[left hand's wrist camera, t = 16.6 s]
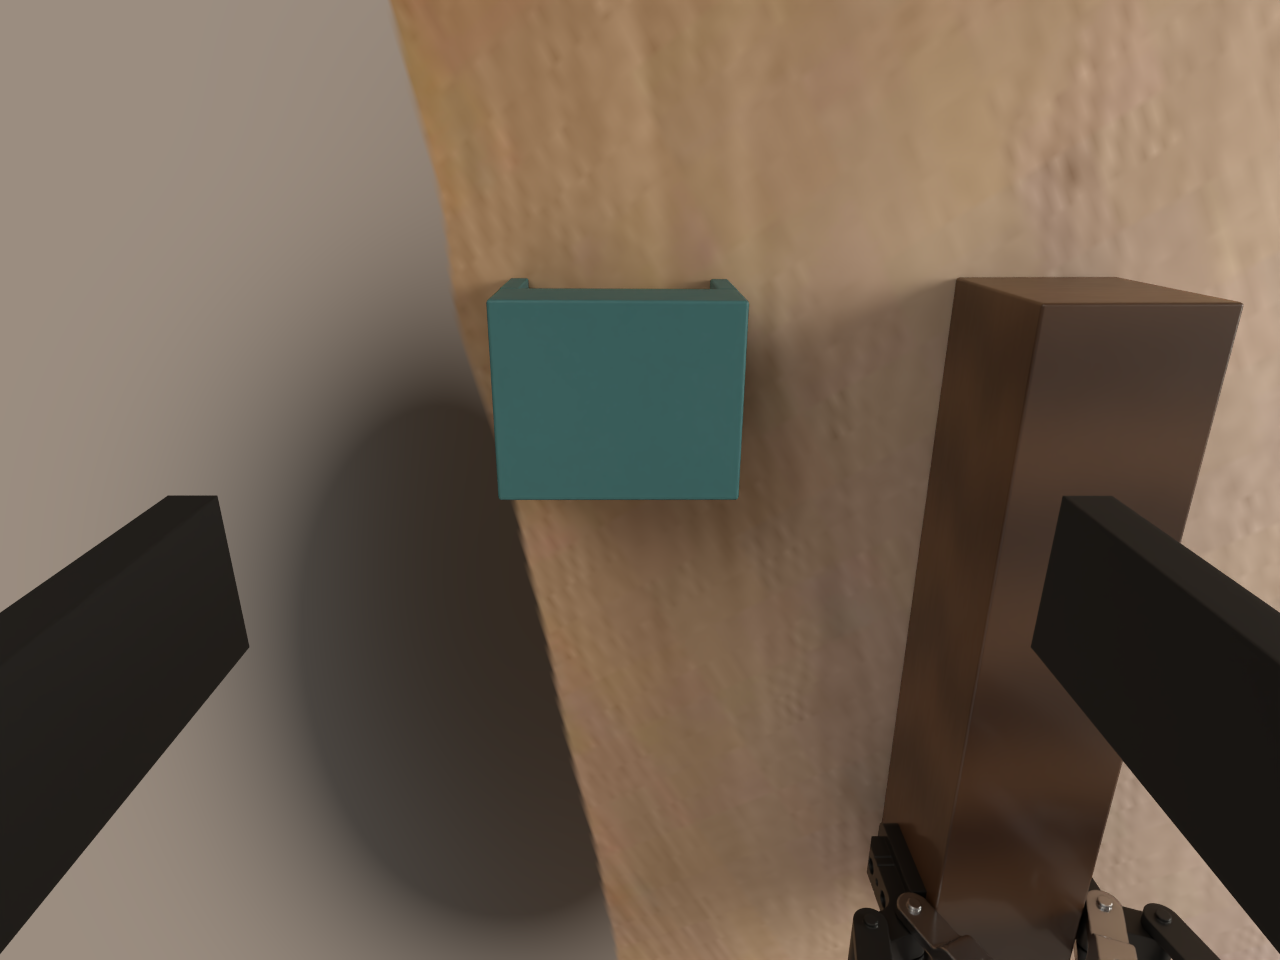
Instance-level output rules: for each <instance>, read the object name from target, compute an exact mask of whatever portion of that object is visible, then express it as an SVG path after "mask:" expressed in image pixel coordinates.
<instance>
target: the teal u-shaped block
mask: <svg viewBox="0 0 1280 960" xmlns="http://www.w3.org/2000/svg"><path fill="white" fill-rule="evenodd" d="M486 304H487V320H488V336H489V352H490V368H491V384H492V400H493V416H494V432H495V448H496V464H497V480H498V497H499V499H501V500H736V499H738V497H739V478H740V460H741V441H742V423H743V404H744V386H745V367H746V349H747V331H748V312H749V302H748V301H747V300H746V299H745V298H744V297H743V296H742V295H741V294H740V293H739V291H738V290H737V289H736V288H735V287H734V286H733V285H732V284H731V283H730V282H729V281H728V280H727V279H712V280H711V281H710V289H532V288H529V287H528V279H527V278H511V279H510V280H509V281H508V282H506V283H505V284H504V285H503V286H502V287H501V288H500V289H499V290H498V291H497V292H496V293H495V294H494V295H493V296H492V297H491V298H489V299H488V300H487V303H486Z"/></svg>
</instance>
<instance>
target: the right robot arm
mask: <svg viewBox="0 0 1280 960" xmlns="http://www.w3.org/2000/svg"><path fill="white" fill-rule="evenodd" d="M867 874H868V877H869V879H870V882H871V885H872V888H873V891H874V894H875V897H876V900H877V903H878V905H879V908H880V911H879V912H878V911H877V910H874V909H871V908H862V909H859V910H857V911H856V912H855V914H854V917H853V925H852V932H851V940H850V947H849V955H848V960H993V958H992V957H991V956H990V955H989V954H988V953H987V952H986V951H985V950H984V949H983V948H982V947H981V946H980V945H979V944H978V942H977V941H976V940H975V939H974V938H972V937H971V936H969V935H964V936H960V935H959V934H957V933H956V932H955V930H954V929H953V928H952V927H951V926H950V925H949V924H948V923H947V922H946V921H945V920H944V919H943V917H942V916H941V915H940V914H939V913H938V912H937V911H936V910H935V909H934V908H933V907H932V905H931V904H930V903H929V902H928V901H927V900H926V894H927V891H926V889H925V886H924V884H923V881H922V879H921V877H920V874H919V872H918V870H917V867H916V865H915V862H914V860H913V858H912V855H911V853H910V850H909V848H908V846H907V843H906V841H905V839H904V836H903V834H902V831H901V829H900V827H899V825H898V823H880V826H879V832H878V836H872V838H871V846H870V853H869V860H868V868H867ZM1073 947H1074V956H1075V960H1171V958H1172V959H1173V960H1220V959H1219V958H1218V957H1217V956H1216V955H1215V954H1214V953H1213V952H1212V950H1211V949H1210V948H1209V947H1208V946H1207V945H1206V944H1205V943H1204V942H1203V941H1202V940H1201V939H1200V938H1199V937H1198V936H1197V935H1196V934H1195V933H1194V932H1193V931H1192V930H1191V929H1190V928H1189V927H1188V926H1187V925H1186V924H1185V923H1184V921H1183V920H1182V919H1181V918H1180V917H1179V916H1178V915H1177V914H1176V913H1175V912H1173V911H1172V910H1171V909H1169V908H1167V907H1165V906H1163V905H1160V904H1155V903H1150V904H1147V905H1145V907H1144V909H1143V912H1142V911H1138V910H1134V909H1130V908H1126V907H1123V906H1122V905H1121V904H1120V902H1119V901H1118V900H1117V899H1116V898H1115V897H1114V896H1112V895H1110V894H1109V893H1107V892H1104V891H1101V890H1100V889H1099V887H1098V886H1097V884H1096V883H1095V881H1094V880H1093V878H1092V879H1091V882H1090V886H1089V890H1088V894H1087V897H1086V901H1085V905H1084V909H1083V912H1082V916H1081V920H1080V924H1079V928H1078V931H1077V935H1076V939H1075V943H1074V946H1073Z"/></svg>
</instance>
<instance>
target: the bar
mask: <svg viewBox="0 0 1280 960" xmlns="http://www.w3.org/2000/svg"><path fill="white" fill-rule="evenodd" d="M1242 309H1243V304H1242V303H1241V302H1236V301H1232V300H1227V299H1222V298H1217V297H1212V296H1207V295H1202V294H1197V293H1192V292H1187V291H1182V290H1177V289H1172V288H1167V287H1162V286H1157V285H1152V284H1147V283H1142V282H1137V281H1132V280H1127V279H1122V278H1117V277H995V278H957V280H956V287H955V295H954V302H953V309H952V316H951V324H950V331H949V338H948V346H947V353H946V360H945V367H944V375H943V382H942V389H941V397H940V404H939V411H938V418H937V426H936V433H935V440H934V448H933V455H932V462H931V469H930V477H929V484H928V491H927V499H926V506H925V513H924V521H923V528H922V535H921V542H920V550H919V557H918V564H917V572H916V579H915V586H914V593H913V601H912V608H911V615H910V623H909V630H908V637H907V644H906V652H905V659H904V666H903V674H902V681H901V688H900V695H899V703H898V710H897V717H896V725H895V732H894V739H893V746H892V754H891V761H890V768H889V776H888V783H887V790H886V797H885V805H884V812H883V819H882V823H898V825H899V827H900V829H901V831H902V834H903V836H904V839H905V841H906V843H907V846H908V848H909V850H910V853H911V855H912V858H913V860H914V862H915V865H916V867H917V870H918V872H919V874H920V877H921V879H922V881H923V884H924V886H925V889H926V891H927V894H926V900H927V901H928V902H929V903H930V904H931V905H932V907H933V908H934V909H935V910H936V911H937V912H938V913H939V914H940V915H941V916H942V917H943V919H944V920H945V921H946V922H947V923H948V924H949V925H950V926H951V927H952V928H953V929H954V930H955V932H956V933H957V934H959V935H960V936H964V935H969V936H971V937H972V938H974V939H975V940H976V941H977V942H978V944H979V945H980V946H981V947H982V948H983V949H984V950H985V951H986V952H987V953H988V954H989V955H990V956H991V957H992V958H993V960H1070V958H1071V954H1072V950H1073V946H1074V943H1075V939H1076V935H1077V931H1078V928H1079V924H1080V920H1081V916H1082V912H1083V909H1084V905H1085V901H1086V897H1087V894H1088V890H1089V886H1090V882H1091V879H1092V875H1093V871H1094V867H1095V863H1096V860H1097V856H1098V852H1099V848H1100V845H1101V841H1102V837H1103V833H1104V829H1105V826H1106V822H1107V818H1108V814H1109V811H1110V807H1111V803H1112V799H1113V796H1114V792H1115V788H1116V784H1117V780H1118V777H1119V773H1120V769H1121V765H1122V762H1123V760H1122V759H1121V758H1120V757H1119V755H1118V754H1117V753H1116V752H1115V750H1114V749H1113V748H1112V747H1111V745H1110V744H1109V743H1108V742H1107V741H1106V739H1105V738H1104V737H1103V736H1102V734H1101V733H1100V732H1099V731H1098V729H1097V728H1096V727H1095V726H1094V725H1093V723H1092V722H1091V721H1090V720H1089V718H1088V717H1087V716H1086V715H1085V713H1084V712H1083V711H1082V710H1081V709H1080V707H1079V706H1078V705H1077V704H1076V702H1075V701H1074V700H1073V699H1072V697H1071V696H1070V695H1069V694H1068V693H1067V691H1066V690H1065V689H1064V688H1063V686H1062V685H1061V684H1060V683H1059V681H1058V680H1057V679H1056V678H1055V676H1054V675H1053V674H1052V673H1051V672H1050V670H1049V669H1048V668H1047V667H1046V665H1045V664H1044V663H1043V662H1042V660H1041V659H1040V658H1039V657H1038V656H1037V654H1036V653H1035V652H1034V651H1033V649H1032V648H1031V643H1032V638H1033V633H1034V629H1035V624H1036V619H1037V615H1038V610H1039V605H1040V600H1041V596H1042V591H1043V586H1044V582H1045V577H1046V572H1047V567H1048V563H1049V558H1050V553H1051V548H1052V544H1053V539H1054V534H1055V530H1056V525H1057V520H1058V515H1059V511H1060V506H1061V501H1062V497H1063V496H1113V497H1115V498H1116V499H1118V500H1119V501H1120V502H1122V503H1123V504H1125V505H1126V506H1128V507H1129V508H1130V509H1132V510H1133V511H1135V512H1136V513H1138V514H1139V515H1140V516H1142V517H1143V518H1145V519H1146V520H1148V521H1149V522H1150V523H1152V524H1153V525H1155V526H1156V527H1158V528H1159V529H1161V530H1162V531H1163V532H1165V533H1166V534H1168V535H1169V536H1171V537H1172V538H1173V539H1175V540H1176V541H1178V542H1179V543H1181V539H1182V535H1183V532H1184V528H1185V524H1186V520H1187V517H1188V513H1189V509H1190V505H1191V501H1192V498H1193V494H1194V490H1195V486H1196V483H1197V479H1198V475H1199V471H1200V468H1201V464H1202V460H1203V456H1204V452H1205V449H1206V445H1207V441H1208V437H1209V434H1210V430H1211V426H1212V422H1213V419H1214V415H1215V411H1216V407H1217V403H1218V400H1219V396H1220V392H1221V388H1222V385H1223V381H1224V377H1225V373H1226V369H1227V366H1228V362H1229V358H1230V354H1231V351H1232V347H1233V343H1234V339H1235V336H1236V332H1237V328H1238V324H1239V320H1240V317H1241V313H1242Z"/></svg>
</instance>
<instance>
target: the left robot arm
mask: <svg viewBox="0 0 1280 960" xmlns="http://www.w3.org/2000/svg"><path fill="white" fill-rule="evenodd" d="M248 648H249V643H248V638H247V634H246V629H245V624H244V619H243V615H242V610H241V605H240V600H239V596H238V591H237V586H236V582H235V577H234V572H233V567H232V563H231V558H230V553H229V548H228V544H227V539H226V534H225V530H224V525H223V520H222V516H221V511H220V506H219V501H218V497H217V496H167V497H165V498H164V499H162V500H161V501H160V502H158V503H157V504H155V505H154V506H152V507H151V508H150V509H148V510H147V511H145V512H144V513H142V514H141V515H140V516H138V517H137V518H135V519H134V520H132V521H131V522H130V523H128V524H127V525H125V526H124V527H122V528H121V529H119V530H118V531H117V532H115V533H114V534H112V535H111V536H109V537H108V538H107V539H105V540H104V541H102V542H101V543H100V544H98V545H97V546H95V547H94V548H92V549H91V550H89V551H88V552H87V553H85V554H84V555H82V556H81V557H79V558H78V559H77V560H75V561H74V562H72V563H71V564H69V565H68V566H67V567H65V568H64V569H62V570H61V571H59V572H58V573H57V574H55V575H54V576H52V577H51V578H49V579H48V580H46V581H45V582H44V583H42V584H41V585H39V586H38V587H36V588H35V589H34V590H32V591H31V592H29V593H28V594H26V595H25V596H24V597H22V598H21V599H19V600H18V601H16V602H15V603H13V604H12V605H11V606H9V607H8V608H6V609H5V610H3V611H2V612H1V613H0V953H1V952H2V951H3V950H4V949H5V947H6V946H7V945H8V944H9V942H10V941H11V940H12V939H13V937H14V936H15V935H16V934H17V933H18V931H19V930H20V929H21V928H22V926H23V925H24V924H25V923H26V922H27V920H28V919H29V918H30V917H31V915H32V914H33V913H34V912H35V910H36V909H37V908H38V907H39V905H40V904H41V903H42V902H43V901H44V899H45V898H46V897H47V896H48V894H49V893H50V892H51V891H52V890H53V888H54V887H55V886H56V885H57V883H58V882H59V881H60V880H61V878H62V877H63V876H64V875H65V874H66V872H67V871H68V870H69V869H70V867H71V866H72V865H73V864H74V862H75V861H76V860H77V859H78V857H79V856H80V855H81V854H82V853H83V851H84V850H85V849H86V848H87V846H88V845H89V844H90V843H91V841H92V840H93V839H94V838H95V837H96V835H97V834H98V833H99V832H100V830H101V829H102V828H103V827H104V825H105V824H106V823H107V822H108V821H109V819H110V818H111V817H112V816H113V814H114V813H115V812H116V811H117V809H118V808H119V807H120V806H121V805H122V803H123V802H124V801H125V800H126V798H127V797H128V796H129V795H130V793H131V792H132V791H133V790H134V789H135V787H136V786H137V785H138V784H139V782H140V781H141V780H142V779H143V777H144V776H145V775H146V774H147V773H148V771H149V770H150V769H151V768H152V766H153V765H154V764H155V763H156V761H157V760H158V759H159V758H160V756H161V755H162V754H163V753H164V752H165V750H166V749H167V748H168V747H169V745H170V744H171V743H172V742H173V741H174V739H175V738H176V737H177V736H178V734H179V733H180V732H181V731H182V729H183V728H184V727H185V726H186V725H187V723H188V722H189V721H190V720H191V718H192V717H193V716H194V715H195V713H196V712H197V711H198V710H199V709H200V707H201V706H202V705H203V703H204V702H205V701H206V700H207V699H208V697H209V696H210V695H211V694H212V693H213V691H214V690H215V689H216V688H217V686H218V685H219V684H220V683H221V681H222V680H223V679H224V678H225V676H226V675H227V674H228V673H229V672H230V670H231V669H232V668H233V667H234V665H235V664H236V663H237V662H238V660H239V659H240V658H241V657H242V656H243V654H244V653H245V652H246V650H247V649H248ZM1031 648H1032V649H1033V651H1034V652H1035V653H1036V654H1037V656H1038V657H1039V658H1040V659H1041V660H1042V662H1043V663H1044V664H1045V665H1046V667H1047V668H1048V669H1049V670H1050V672H1051V673H1052V674H1053V675H1054V676H1055V678H1056V679H1057V680H1058V681H1059V683H1060V684H1061V685H1062V686H1063V688H1064V689H1065V690H1066V691H1067V693H1068V694H1069V695H1070V696H1071V697H1072V699H1073V700H1074V701H1075V702H1076V704H1077V705H1078V706H1079V707H1080V709H1081V710H1082V711H1083V712H1084V713H1085V715H1086V716H1087V717H1088V718H1089V720H1090V721H1091V722H1092V723H1093V725H1094V726H1095V727H1096V728H1097V729H1098V731H1099V732H1100V733H1101V734H1102V736H1103V737H1104V738H1105V739H1106V741H1107V742H1108V743H1109V744H1110V745H1111V747H1112V748H1113V749H1114V750H1115V752H1116V753H1117V754H1118V755H1119V757H1120V758H1121V759H1122V760H1123V761H1124V763H1125V764H1126V765H1127V766H1128V768H1129V769H1130V770H1131V771H1132V773H1133V774H1134V775H1135V776H1136V777H1137V779H1138V780H1139V781H1140V782H1141V784H1142V785H1143V786H1144V787H1145V789H1146V790H1147V791H1148V792H1149V793H1150V795H1151V796H1152V797H1153V798H1154V800H1155V801H1156V802H1157V803H1158V805H1159V806H1160V807H1161V808H1162V809H1163V811H1164V812H1165V813H1166V814H1167V816H1168V817H1169V818H1170V819H1171V821H1172V822H1173V823H1174V824H1175V825H1176V827H1177V828H1178V829H1179V830H1180V832H1181V833H1182V834H1183V835H1184V837H1185V838H1186V839H1187V840H1188V841H1189V843H1190V844H1191V845H1192V846H1193V848H1194V849H1195V850H1196V851H1197V853H1198V854H1199V855H1200V856H1201V858H1202V859H1203V860H1204V861H1205V862H1206V864H1207V865H1208V866H1209V867H1210V869H1211V870H1212V871H1213V872H1214V874H1215V875H1216V876H1217V877H1218V878H1219V880H1220V881H1221V882H1222V883H1223V885H1224V886H1225V887H1226V888H1227V890H1228V891H1229V892H1230V893H1231V894H1232V896H1233V897H1234V898H1235V899H1236V901H1237V902H1238V903H1239V904H1240V906H1241V907H1242V908H1243V909H1244V910H1245V912H1246V913H1247V914H1248V915H1249V917H1250V918H1251V919H1252V920H1253V922H1254V923H1255V924H1256V925H1257V926H1258V928H1259V929H1260V930H1261V931H1262V933H1263V934H1264V935H1265V936H1266V938H1267V939H1268V940H1269V941H1270V942H1271V944H1272V945H1273V946H1274V947H1275V949H1276V950H1277V951H1278V952H1279V954H1280V613H1279V612H1278V611H1277V610H1275V609H1274V608H1272V607H1271V606H1269V605H1268V604H1267V603H1265V602H1264V601H1262V600H1261V599H1259V598H1258V597H1256V596H1255V595H1254V594H1252V593H1251V592H1249V591H1248V590H1246V589H1245V588H1244V587H1242V586H1241V585H1239V584H1238V583H1236V582H1235V581H1234V580H1232V579H1231V578H1229V577H1228V576H1226V575H1225V574H1224V573H1222V572H1221V571H1219V570H1218V569H1216V568H1215V567H1214V566H1212V565H1211V564H1209V563H1208V562H1206V561H1205V560H1203V559H1202V558H1201V557H1199V556H1198V555H1196V554H1195V553H1193V552H1192V551H1191V550H1189V549H1188V548H1186V547H1185V546H1183V545H1182V544H1181V543H1179V542H1178V541H1176V540H1175V539H1173V538H1172V537H1171V536H1169V535H1168V534H1166V533H1165V532H1163V531H1162V530H1161V529H1159V528H1158V527H1156V526H1155V525H1153V524H1152V523H1150V522H1149V521H1148V520H1146V519H1145V518H1143V517H1142V516H1140V515H1139V514H1138V513H1136V512H1135V511H1133V510H1132V509H1130V508H1129V507H1128V506H1126V505H1125V504H1123V503H1122V502H1120V501H1119V500H1118V499H1116V498H1115V497H1113V496H1063V497H1062V501H1061V506H1060V511H1059V515H1058V520H1057V525H1056V530H1055V534H1054V539H1053V544H1052V548H1051V553H1050V558H1049V563H1048V567H1047V572H1046V577H1045V582H1044V586H1043V591H1042V596H1041V600H1040V605H1039V610H1038V615H1037V619H1036V624H1035V629H1034V633H1033V638H1032V643H1031Z"/></svg>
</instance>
